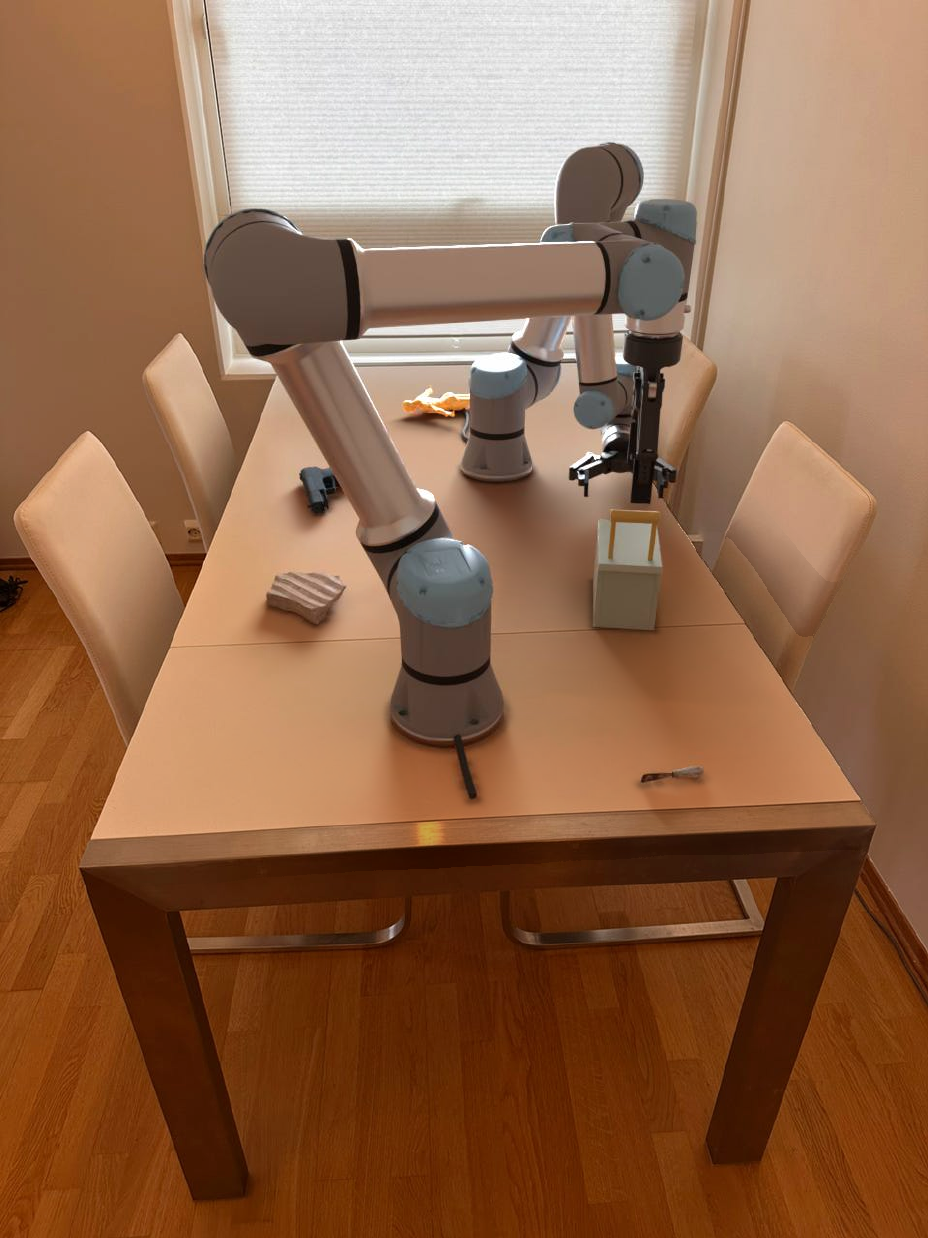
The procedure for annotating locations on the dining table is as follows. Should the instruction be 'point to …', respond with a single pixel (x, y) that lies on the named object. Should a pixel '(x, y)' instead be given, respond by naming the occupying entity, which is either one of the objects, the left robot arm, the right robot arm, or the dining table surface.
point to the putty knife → (674, 774)
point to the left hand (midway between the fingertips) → (638, 483)
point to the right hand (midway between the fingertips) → (623, 490)
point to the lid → (629, 542)
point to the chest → (624, 598)
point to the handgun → (318, 487)
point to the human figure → (437, 403)
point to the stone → (305, 593)
